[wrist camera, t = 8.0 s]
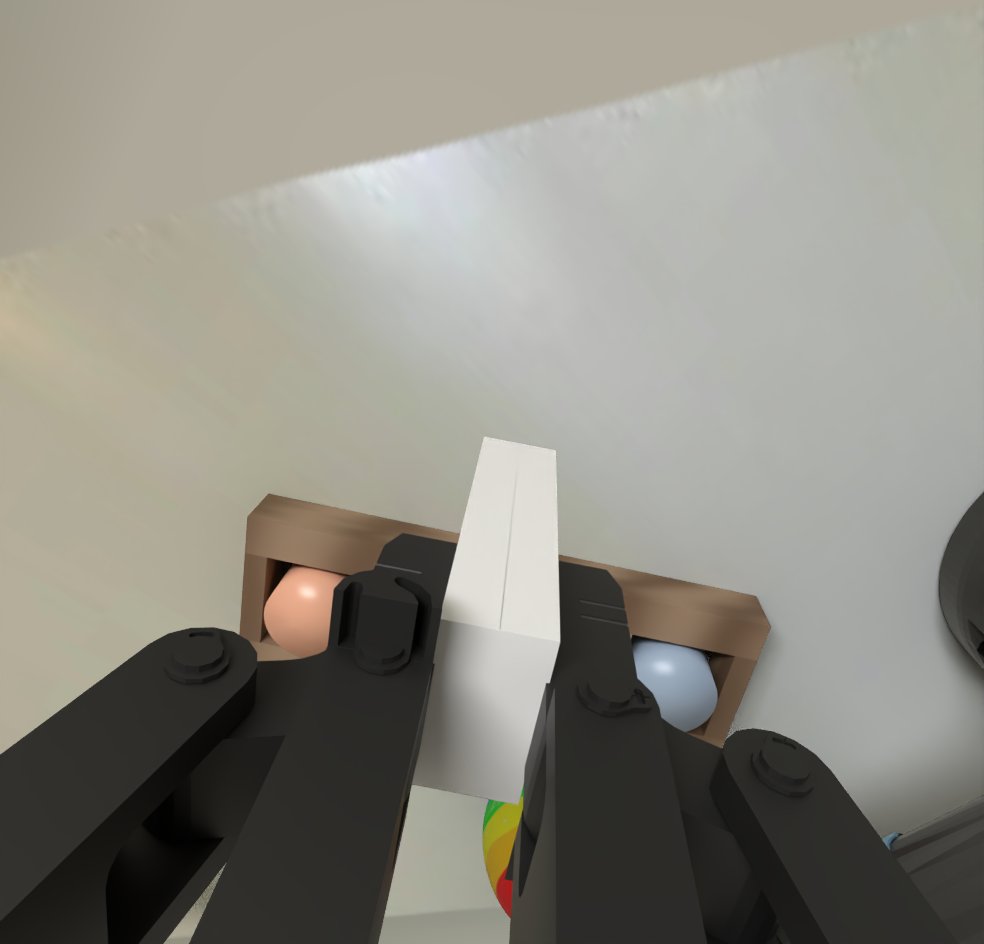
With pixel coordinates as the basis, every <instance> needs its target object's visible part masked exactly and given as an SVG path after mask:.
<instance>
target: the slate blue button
mask: <svg viewBox="0 0 984 944" xmlns="http://www.w3.org/2000/svg"><path fill="white" fill-rule="evenodd" d="M631 644H632V649H633V655H634V661H635V667H636V672H637V678H638V679H639V680H640V681H641V682H642V683H643V684H644V685H645V686H646V687H647V688H648V689H649V690H650V691H651V692H652V693H653V695H654V697H655V699H656V701H657V703H658V705H659V708H660V713H661V717H662V718H663V719H664V720H666V721H667V722H668V723H670V724H671V725H672V726H674V727H676V728H678V729H680V730H682V731H684V732H687V731H690V730H692V729H695V728H697V727H698V726H700V725H701V724H703V723H704V722H705V721H706V720H707V719H708V718H709V717H710V716H711V715H712V713H713V712H714V710H715V707H716V704H717V698H718V697H717V689H716V686H715V682H714V679H713V676H712V673H711V670H710V667H709V664H708V660H707V657H706V654H705V651H704V649H699V648H694V647H689V646H685V645H680V644H675V643H670V642H666V641H661V640H656V639H651V638H647V637H642V636H637V635H632V638H631Z"/></svg>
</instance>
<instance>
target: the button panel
mask: <svg viewBox="0 0 984 944" xmlns="http://www.w3.org/2000/svg"><path fill="white" fill-rule="evenodd" d="M402 533H406V534H411V535H417V536H422V537H427V538H432V539H437V540H443V541H448V542H453V543H458V541H459V537H460V534H457V533H453V532H448V531H443V530H438V529H434V528H429V527H424V526H419V525H415V524H410V523H405V522H400V521H396V520H391V519H386V518H381V517H376V516H372V515H367V514H362V513H357V512H353V511H348V510H343V509H338V508H334V507H329V506H324V505H319V504H315V503H310V502H305V501H300V500H296V499H291V498H286V497H281V496H277V495H272V494H268V495H267V496H266V497H265V498H264V499H263V500H262V501H261V503H260V504H259V505H258V506H257V507H256V508H255V509H254V510H253V511H252V512H251V513H250V515H249V516H248V517H247V531H246V546H245V561H244V576H243V591H242V606H241V621H240V636H242V637H243V638H245V639H247V640H249V641H250V643H251V644H252V646H253V647H254V649H255V650H256V652H257V661H276V660H292V659H301V658H304V657H300V656H297V655H294V654H292V653H290V652H288V651H286V650H285V649H283V648H282V647H281V646H279V645H278V644H277V643H276V642H275V641H274V640H273V638H272V637H271V635H270V634H269V632H268V630H267V628H266V625H265V621H264V609H265V605H266V603H267V601H268V599H269V597H270V596H271V594H272V593H273V592H274V590H275V589H276V587H277V586H278V584H279V583H280V581H281V580H282V574H283V563H284V561H286V562H291V563H295V564H300V565H305V566H310V567H314V568H319V569H324V570H329V571H333V572H338V573H343V574H348V575H353V574H355V573H357V572H362V571H369V570H374V567H375V565H376V564H377V561H378V558H379V556H380V554H381V551H382V549H383V547H384V545H385V544H387V543H388V542H390V541H391V540H393V539H394V538H396V537H397V536H399V535H400V534H402ZM558 560H559V561H564V562H569V563H574V564H579V565H585V566H590V567H595V568H600V569H606V570H608V572H609V573H610V574H611V575H612V577H613V578H614V579H615V580H616V582H617V583H618V584H619V585H620V587H621V588H622V592H623V598H624V604H625V611H626V615H627V621H628V624H627V626H628V627H629V632H630V638H632V635H637V636H642V637H647V638H651V639H656V640H661V641H666V642H670V643H675V644H680V645H685V646H689V647H694V648H699V649H704V650H708V651H713V653H712V655H711V658H710V661H709V663H708V664H709V667H710V670H711V673H712V676H713V679H714V682H715V686H716V689H717V697H718V698H717V704H716V707H715V710H714V712H713V713H712V715H711V716H710V717H709V718H708V719H707V720H706V721H705V722H704V723H703V724H701V725H700V726H698V727H697V728H695V729H692V730H690V731H687V732H685V733H687V734H689V735H692V736H694V737H696V738H699V739H701V740H703V741H706V742H708V743H710V744H713V745H715V746H717V747H720V748H722V746H723V743H724V741H725V738H726V736H727V734H728V731H729V729H730V726H731V724H732V721H733V719H734V716H735V714H736V712H737V709H738V707H739V704H740V702H741V699H742V697H743V694H744V692H745V689H746V687H747V685H748V682H749V680H750V677H751V675H752V672H753V670H754V667H755V665H756V663H757V660H758V658H759V655H760V653H761V650H762V648H763V645H764V643H765V640H766V638H767V636H768V633H769V631H770V628H771V626H770V624H769V622H768V620H767V617H766V615H765V613H764V611H763V609H762V607H761V605H760V603H759V601H758V599H757V597H756V596H752V595H747V594H743V593H738V592H733V591H728V590H724V589H719V588H714V587H709V586H705V585H700V584H695V583H690V582H686V581H681V580H676V579H671V578H667V577H662V576H657V575H652V574H648V573H643V572H638V571H633V570H629V569H624V568H619V567H614V566H610V565H605V564H600V563H595V562H591V561H586V560H581V559H576V558H572V557H567V556H562V555H558Z"/></svg>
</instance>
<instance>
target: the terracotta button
mask: <svg viewBox="0 0 984 944" xmlns="http://www.w3.org/2000/svg"><path fill="white" fill-rule="evenodd" d="M348 576H350V575H348V574H343V573H338V572H333V571H329V570H324V569H319V568H314V567H310V566H305V565H300V564H295V563H293V564H292V565H291V567H290V568H289V570H288V571H287V573H286V574H285V576H284V577H283V578H282V580H281V581H280V583H279V584H278V586H277V587H276V589H275V590H274V592H273V593H272V594H271V596H270V597H269V599H268V601H267V603H266V605H265V609H264V621H265V625H266V628H267V630H268V632H269V634H270V635H271V637H272V638H273V640H274V641H275V642H276V643H277V644H278V645H279V646H281V647H282V648H283V649H285V650H286V651H288V652H290V653H292V654H294V655H297V656H300V657H304V658H305V657H309V656H313V655H316V654H319V653H321V652H323V651H325V650H326V648H327V646H328V638H329V629H330V619H331V610H332V600H333V590H334V588H335V587H336V586H337V585H338V584H339V583H340V582H341V580H342V579H343V578H346V577H348Z"/></svg>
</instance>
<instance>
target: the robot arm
mask: <svg viewBox="0 0 984 944" xmlns="http://www.w3.org/2000/svg"><path fill="white" fill-rule="evenodd" d="M939 585H940V600H941V605H942V610H943V613H944V616H945V619H946V621H947V624H948V626H949V627H950V629H951V631H952V633H953V634H954V636H955V637H956V639H957V640H958V641H959V642H960V644H961V645H962V646H963V647H964V648H965V649H966V651H967V652H968V653H969V654H970V655H971V656H972V657H973V658H974V660H975V661H976V662H977V663H978V664H979V665H980V666H981V667H982V668H983V669H984V493H983V494H982V495H981V496H980V497H979V498H978V499H977V500H976V501H975V503H974V504H973V505H972V506H971V507H970V508H969V510H968V511H967V512H966V514H965V515H964V517H963V518H962V520H961V521H960V523H959V524H958V526H957V528H956V529H955V531H954V533H953V535H952V537H951V539H950V541H949V544H948V546H947V549H946V552H945V554H944V558H943V562H942V566H941V572H940V582H939ZM627 624H628V621H627V615H626V611H625V604H624V598H623V592H622V588H621V587H620V585H619V584H618V583H617V582H616V580H615V579H614V578H613V577H612V575H611V574H610V573H609V572H608V570H606V569H600V568H595V567H590V566H585V565H579V564H574V563H569V562H564V561H559V560H558V523H557V480H556V450H551V449H546V448H541V447H535V446H530V445H525V444H520V443H514V442H509V441H504V440H499V439H494V438H488V437H484V439H483V443H482V448H481V452H480V456H479V460H478V464H477V468H476V472H475V476H474V480H473V484H472V488H471V492H470V496H469V500H468V504H467V508H466V512H465V516H464V520H463V525H462V529H461V533H460V537H459V541H458V543H453V542H448V541H443V540H437V539H432V538H427V537H422V536H417V535H411V534H406V533H402V534H400V535H399V536H397V537H396V538H394V539H393V540H391V541H390V542H388V543H387V544H385V545H384V547H383V549H382V551H381V554H380V556H379V558H378V561H377V564H376V565H375V567H374V570H369V571H362V572H357V573H355V574H353V575H350V576H348V577H346V578H343V579H342V580H341V582H340V583H339V584H338V585H337V586H336V587H335V588H334V590H333V600H332V610H331V619H330V629H329V638H328V646H327V648H326V650H325V651H323V652H321V653H319V654H316V655H313V656H309V657H305V658H301V659H292V660H276V661H257V652H256V650H255V649H254V647H253V646H252V644H251V643H250V641H249V640H247V639H245V638H243V637H242V636H240V635H238V634H237V633H235V632H232V631H227V630H223V629H218V628H214V627H213V628H189V629H185V630H181V631H177V632H173V633H169V634H167V635H165V636H163V637H161V638H159V639H157V640H156V641H154V642H152V643H150V644H149V645H147V646H146V647H145V648H143V649H142V650H141V651H139V652H138V653H136V654H135V655H134V656H132V657H131V658H130V659H128V660H127V661H126V662H124V663H123V664H122V665H120V666H119V667H118V668H116V669H115V670H114V671H112V672H111V673H110V674H108V675H107V676H106V677H104V678H103V679H101V680H100V681H99V682H97V683H96V684H95V685H93V686H92V687H91V688H89V689H88V690H87V691H85V692H84V693H83V694H81V695H80V696H79V697H77V698H76V699H75V700H73V701H72V702H71V703H69V704H68V705H67V706H65V707H64V708H62V709H61V710H60V711H58V712H57V713H56V714H54V715H53V716H52V717H50V718H49V719H48V720H46V721H45V722H44V723H42V724H41V725H40V726H38V727H37V728H36V729H34V730H33V731H32V732H30V733H29V734H27V735H26V736H25V737H23V738H22V739H21V740H19V741H18V742H17V743H15V744H14V745H13V746H11V747H10V748H9V749H7V750H6V751H5V752H3V753H2V754H1V755H0V944H163V943H164V942H165V941H166V939H167V938H168V937H169V936H170V934H171V933H172V932H173V930H174V929H175V928H176V927H177V925H178V924H179V923H180V921H181V920H182V919H183V918H184V916H185V915H186V914H187V912H188V911H189V910H190V909H191V907H192V906H193V905H194V903H195V902H196V901H197V900H198V898H199V897H200V896H201V894H202V893H203V892H204V891H205V889H206V888H207V887H208V885H209V884H210V883H211V882H212V880H213V879H214V878H215V876H216V875H217V874H218V873H219V871H220V870H221V869H222V867H223V866H224V865H225V864H226V865H225V867H224V870H223V872H222V874H221V876H220V878H219V880H218V883H217V885H216V887H215V889H214V891H213V893H212V895H211V898H210V900H209V902H208V904H207V906H206V908H205V911H204V913H203V915H202V917H201V919H200V921H199V923H198V926H197V928H196V930H195V932H194V934H193V936H192V939H191V941H190V943H189V944H378V942H379V936H380V933H381V928H382V923H383V919H384V914H385V910H386V905H387V901H388V896H389V891H390V887H391V882H392V878H393V873H394V869H395V864H396V860H397V855H398V850H399V846H400V841H401V837H402V832H403V828H404V823H405V818H406V813H407V807H408V802H409V796H410V790H411V786H412V784H413V785H418V786H423V787H428V788H433V789H439V790H444V791H449V792H454V793H460V794H465V795H470V796H475V797H480V798H486V799H491V800H496V801H501V802H507V803H512V804H517V805H518V804H519V800H520V796H521V792H522V788H523V784H524V793H523V810H522V814H521V818H520V821H519V825H518V829H517V833H516V837H515V841H514V844H513V848H512V852H511V856H510V860H509V863H508V867H507V871H506V875H505V880H510V881H513V885H512V904H511V922H510V941H509V944H984V795H983V796H981V797H979V798H977V799H975V800H973V801H971V802H969V803H968V804H966V805H964V806H962V807H960V808H958V809H955V810H953V811H951V812H949V813H947V814H945V815H943V816H941V817H939V818H937V819H935V820H933V821H931V822H928V823H926V824H924V825H922V826H920V827H918V828H916V829H914V830H912V831H910V832H908V833H906V834H904V835H903V834H900V833H897V832H894V833H891V834H889V835H887V836H886V837H884V838H883V839H881V838H880V836H879V835H878V834H877V832H876V831H875V830H874V828H873V827H872V825H871V824H870V823H869V821H868V820H867V819H866V817H865V816H864V815H863V813H862V812H861V811H860V809H859V808H858V807H857V805H856V804H855V802H854V801H853V800H852V798H851V797H850V796H849V794H848V793H847V792H846V790H845V789H844V788H843V786H842V785H841V784H840V782H839V781H838V779H837V778H836V777H835V775H834V774H833V773H832V771H831V770H830V769H829V768H828V767H827V766H826V765H825V764H824V763H823V762H822V761H821V760H820V759H819V758H818V757H817V756H816V755H815V754H814V753H813V752H811V751H810V750H808V749H807V748H805V747H804V746H802V745H801V744H799V743H798V742H796V741H795V740H792V739H790V738H787V737H785V736H783V735H780V734H778V733H775V732H772V731H766V730H760V729H754V728H753V729H746V730H740V731H736V732H735V733H734V734H732V735H731V736H730V737H729V738H727V739H726V741H725V743H724V746H723V748H720V747H717V746H715V745H713V744H710V743H708V742H706V741H703V740H701V739H699V738H696V737H694V736H692V735H689V734H687V733H685V732H684V731H682V730H680V729H678V728H676V727H674V726H672V725H671V724H670V723H668V722H667V721H666V720H664V719H663V718H662V717H661V713H660V708H659V705H658V703H657V701H656V699H655V697H654V695H653V693H652V692H651V691H650V690H649V689H648V688H647V687H646V686H645V685H644V684H643V683H642V682H641V681H640V680H639V679H638V678H637V672H636V667H635V661H634V655H633V649H632V644H631V638H630V632H629V627H628V626H627ZM226 862H227V863H226Z"/></svg>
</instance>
